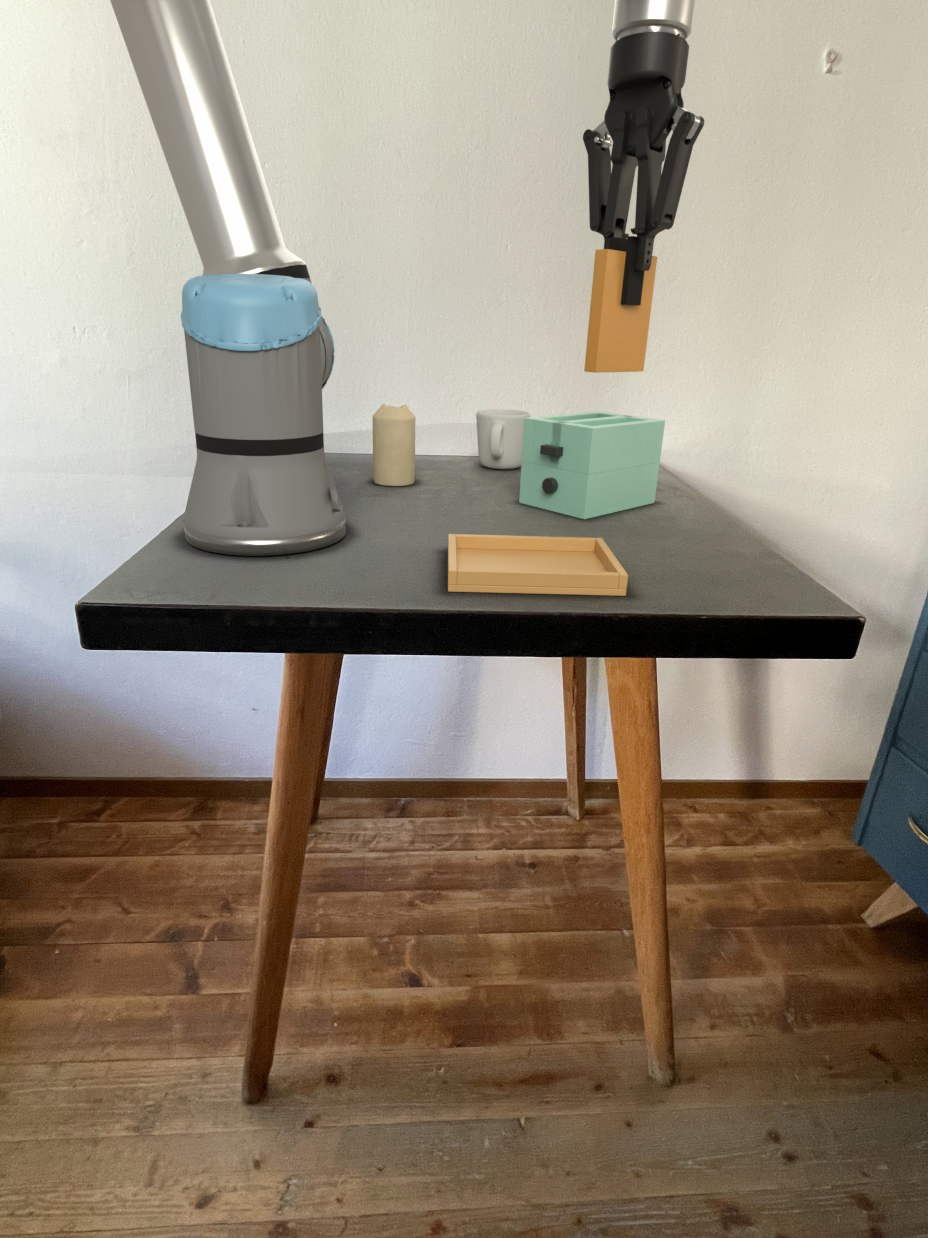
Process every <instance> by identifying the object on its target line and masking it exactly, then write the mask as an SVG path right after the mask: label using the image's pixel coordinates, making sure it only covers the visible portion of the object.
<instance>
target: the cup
mask: <svg viewBox="0 0 928 1238" xmlns="http://www.w3.org/2000/svg"><path fill="white" fill-rule="evenodd" d="M475 416H476V417H475V418H476V436H477V451H478V452H477V453H478V460H479V462H480V463H479V464H481V465H482V466H483V467H485V468H489V469H492V470H493V469H494V470H515V469H517V468H520V467H521V464H522V449H523V432H524V418H529V417H532V415H531V412H528V411H524V410H517V409H505V408H492V409H491V408H490V409H488V408H486V409H480V410H477V411H476V413H475Z"/></svg>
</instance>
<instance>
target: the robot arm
mask: <svg viewBox="0 0 928 1238" xmlns="http://www.w3.org/2000/svg"><path fill="white" fill-rule="evenodd" d="M109 1H110V4H111V7H112V9H113V13H114V16H115V18H116V21H117V24H118V27H119V29H120V33H121V35H122V38H123V41H124V45H125V47H126V49H127V52H128V55H129V59H130V61H131V64H132V67H133V70H134V73H135V75H136V78H137V81H138V84H139V86H140V90H141V92H142V95H143V99H144V101H145V104H146V108H147V110H148V113H149V116H150V118H151V121H152V125H153V127H154V129H155V132H156V136H157V138H158V141H159V144H160V146H161V147H160V148H161V150H162V152H163V155H164V158H165V161H166V164H167V166H168V170H169V172H170V175H171V178H172V181H173V184H174V186H175V190H176V192H177V195H178V198H179V201H180V204H181V207H182V210H183V212H184V215H185V218H186V221H187V224H188V227H189V229H190V232H191V236H192V238H193V241H194V245H195V247H196V249H197V253H198V255H199V258H200V261H201V264H202V267H203V269H202V275H199V276H194V277H192V278H190V279H188V280H187V281H186V282H185V283H184V285H183V286H182V290H181V312H180V321H181V327H182V328H183V334H184V342H185V351H186V363H187V370H188V380H189V389H190V399H191V400H190V401H191V408H192V419H193V429H194V435H195V436H194V437H195V447H196V461H195V466H194V471H193V475H192V479H191V484H190V487H189V492H188V497H187V502H186V504H185V510H184V514H183V529H184V538H185V541H186V542H187V543H188V544H190V545H191V546H193V547H195V548H197V549H200V550H203V551H206V552H211V553H215V554H223V555H233V556H248V557H249V556H257V557H258V556H280V555H289V554H297V553H298V554H299V553H305V552H309V551H314V550H317V549H322V548H325V547H328V546H332V545H333V544H335V543H337V542H339V541H340V540H342V539H343V538H344V537H345V535H346V533H347V527H346V526H347V523H346V514H345V510H344V506H343V503H342V501H341V498H340V495H339V493H338V489H337V487H336V484H335V481H334V478H333V476H332V472H331V470H330V468H329V465H328V462H327V459H326V455H325V439H324V438H325V437H324V435H325V434H324V409H323V407H324V406H323V389H324V388H325V387H326V385H327V383H328V381H329V379H330V376H331V374H332V371H333V368H334V362H335V343H334V338H333V335H332V331H331V329H330V326H329V325H328V324H327V323H326V319H325V318H324V317H323V316H322V308H321V307H320V304H319V296H318V295H319V294H318V291H317V289H316V287H315V285H314V284H313V283H312V279H311V276H310V273H309V270H308V266H307V263H306V261H305V260H303V259H302V258H300V257H299V256H298V255H296V254H294V253H293V252H291V251H289V249H288V248H287V247H286V244H285V241H284V238H283V234H282V231H281V228H280V224H279V221H278V218H277V215H276V210H275V207H274V205H273V202H272V198H271V194H270V192H269V189H268V185H267V183H266V179H265V175H264V172H263V169H262V166H261V162H260V159H259V156H258V152H257V149H256V146H255V142H254V140H253V137H252V133H251V131H250V127H249V124H248V120H247V116H246V114H245V109H244V107H243V105H242V104H243V103H242V101H241V98H240V97H241V96H240V94H239V91H238V88H237V84H236V82H235V78H234V75H233V71H232V68H231V65H230V62H229V58H228V56H227V52H226V49H225V44H224V42H223V38H222V35H221V32H220V29H219V25H218V23H217V20H216V16H215V12H214V9H213V6H212V3H211V0H109ZM695 1H696V0H614V5H613V6H614V8H613V19H612V26H611V27H612V28H611V37H612V39H613V40H614V41H615V42H614V43H613V44H612V46H611V47H610V53H609V62H608V63H609V64H608V72H607V73H608V74H607V89H608V92H609V102H608V105H607V107H606V110H605V112H604V117H603V120H602V122H601V123H599V125H598V126H596V127H595V128H594V129H590V128H587V129H586V130H584V132H583V133H582V134H583V135H582V141H583V144H584V147H585V150H586V153H587V172H588V175H587V177H588V209H589V210H588V213H589V214H588V215H589V229H590V231H592V232H595V233H598V234H599V235H602V237H603V240H604V241H603V249H611V250H617V251H624V252H626V258H625V267H624V277H623V286H622V295H621V304H624V305H641V297H642V288H643V280H644V271H649V269H650V267H651V261H652V260H651V259H652V256H653V253H654V243H655V238H656V236H657V235H658V234H660V233H661V232H663V231H665V230H670V229H672V228H673V226H674V223H675V219H676V217H677V213H678V212H677V211H678V209H679V208H678V207H679V204H680V200H681V196H682V192H683V188H684V183H685V180H686V175H687V173H688V167H689V165H690V160H691V156H692V154H693V153H692V152H693V148H694V145H695V143H696V141H697V139H698V137H699V136H700V133H701V132H702V130H703V128H704V126H705V118H704V117H703V116H702V115H699V114H696V113H694V112H692V111H689V110H687V109H685V108H684V105H685V103H684V99H683V96H682V89H683V87H684V86H685V84H686V78H687V77H686V76H687V69H688V61H689V53H690V45H689V43H688V41H687V40H686V39H688V38H689V37H690V35H691V33H692V25H693V17H694V9H695ZM671 132H672V134H671ZM670 134H671V137H670V139H669V141H668V145H667V139H668V137H669V135H670ZM610 147H611V150H610ZM666 148H667V150H666ZM636 169H637V179H636V199H635V200H636V201H635V215H634V216H635V217H634V218H635V219H634V227H632V228H630V232H631V234H633V235H630V234H629V233H626V229H627V224H628V218H629V211H630V205H631V199H632V195H633V194H632V193H633V186H634V181H635V175H636Z"/></svg>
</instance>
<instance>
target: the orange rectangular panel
mask: <svg viewBox="0 0 928 1238" xmlns="http://www.w3.org/2000/svg"><path fill="white" fill-rule="evenodd" d="M594 251H595V252H594V262H593V273H592V283H591V285H592V286H591V293H590V294H591V295H590V304H589V316H588V326H587V327H588V328H587V336H586V337H587V338H586V348H585V358H584V359H585V360H584V369H583V371H584V372H585V373H594V374H595V373H596V374H597V373H632V372H634V373H636V372H637V373H639V372H640V373H641V372H644V371H645V370H644V369H645V361H646V353H647V344H648V338H649V330H650V329H649V328H650V322H651V321H650V320H651V313H652V305H653V296H654V287H655V279H656V272H657V264H658V256H656V255H652V259H651V260H652V261H651V267H650V269H649V271H644V280H643V288H642V297H641V305H624V304H621V295H622V286H623V277H624V267H625V258H626V252H624V251H617V250H611V249H604V248H601V249H600V248H599V249H595V250H594Z"/></svg>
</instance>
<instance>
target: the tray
mask: <svg viewBox="0 0 928 1238" xmlns="http://www.w3.org/2000/svg"><path fill="white" fill-rule="evenodd" d="M628 581H629V574H628V573H627V571H626V570H625V569H624V567H623V565H622V563H620V561H619V560H618V559H617V557H616V556H615V554H614V553H613V552H612V550H611V549H610V547H609V546H608V545H607V543H606V541H605V540H604V539H603V537H581V536H580V537H579V536H578V537H577V536H545V535H541V536H539V535H507V534H506V535H504V534H501V535H499V534H467V533H466V534H465V533H448V535H447V592H449V593H485V594H487V593H490V594H492V593H493V594H527V595H528V594H529V595H530V594H531V595H535V594H536V595H567V596H568V595H571V596H572V595H573V596H574V595H575V596H578V595H579V596H613V597H615V596H617V597H618V596H619V597H626V596H627V589H628Z"/></svg>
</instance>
